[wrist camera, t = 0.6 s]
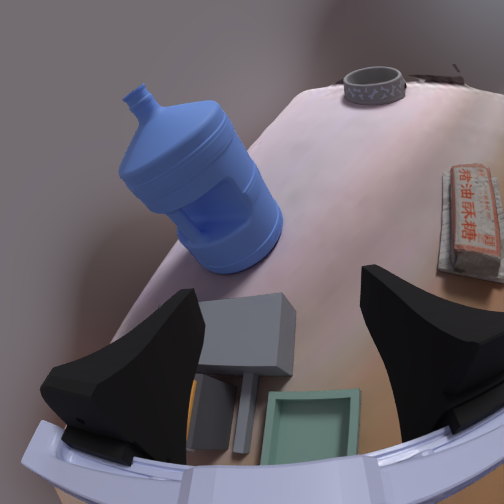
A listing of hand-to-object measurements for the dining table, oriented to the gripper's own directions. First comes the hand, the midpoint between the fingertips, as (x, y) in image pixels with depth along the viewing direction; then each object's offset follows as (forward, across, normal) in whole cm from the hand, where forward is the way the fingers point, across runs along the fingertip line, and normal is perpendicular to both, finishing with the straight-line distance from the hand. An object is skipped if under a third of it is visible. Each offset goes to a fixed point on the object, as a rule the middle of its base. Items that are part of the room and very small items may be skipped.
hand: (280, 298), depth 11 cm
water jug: (+32, +6, +9) cm, 34 cm away
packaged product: (+18, -27, +6) cm, 33 cm away
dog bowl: (+61, -33, -16) cm, 71 cm away
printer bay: (+12, +9, +19) cm, 24 cm away
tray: (+2, -2, +21) cm, 21 cm away
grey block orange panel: (+8, +9, +22) cm, 25 cm away
